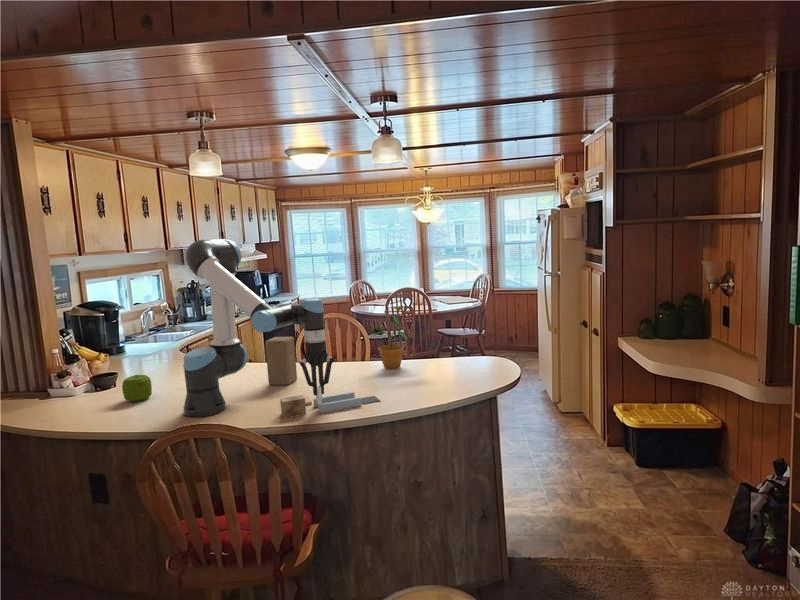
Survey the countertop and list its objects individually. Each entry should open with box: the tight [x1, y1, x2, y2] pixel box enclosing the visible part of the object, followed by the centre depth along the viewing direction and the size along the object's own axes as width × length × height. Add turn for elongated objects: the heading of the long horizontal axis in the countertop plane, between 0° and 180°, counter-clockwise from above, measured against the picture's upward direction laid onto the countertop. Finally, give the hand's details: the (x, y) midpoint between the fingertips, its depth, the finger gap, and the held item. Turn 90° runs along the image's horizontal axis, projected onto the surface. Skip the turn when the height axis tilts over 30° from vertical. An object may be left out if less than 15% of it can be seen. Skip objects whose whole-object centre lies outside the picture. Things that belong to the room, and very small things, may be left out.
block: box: [279, 394, 307, 419], centre depth 192 cm, size 8×5×6 cm, turn 112°
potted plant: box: [371, 305, 408, 370], centre depth 251 cm, size 18×19×30 cm
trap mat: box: [361, 395, 381, 405], centre depth 204 cm, size 7×7×1 cm
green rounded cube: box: [121, 374, 153, 403], centre depth 221 cm, size 11×11×11 cm
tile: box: [302, 394, 313, 406], centre depth 206 cm, size 10×10×1 cm
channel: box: [312, 391, 362, 414], centre depth 199 cm, size 16×9×3 cm, turn 113°
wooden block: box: [264, 336, 298, 386], centre depth 236 cm, size 10×10×20 cm
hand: (319, 403), depth 196 cm, fingers closed
